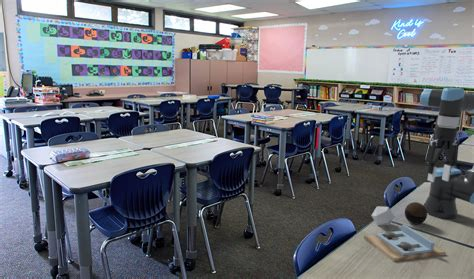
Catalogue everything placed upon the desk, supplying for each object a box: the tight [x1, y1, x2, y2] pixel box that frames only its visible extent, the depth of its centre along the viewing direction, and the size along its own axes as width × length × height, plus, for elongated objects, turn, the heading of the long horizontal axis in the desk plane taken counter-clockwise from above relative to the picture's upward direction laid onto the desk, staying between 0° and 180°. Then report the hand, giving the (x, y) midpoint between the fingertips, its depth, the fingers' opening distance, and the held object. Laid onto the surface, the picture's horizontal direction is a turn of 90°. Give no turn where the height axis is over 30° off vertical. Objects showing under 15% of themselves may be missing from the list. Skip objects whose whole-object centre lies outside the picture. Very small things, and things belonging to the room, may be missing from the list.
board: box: [363, 231, 446, 262], centre depth 144 cm, size 24×18×4 cm
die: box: [371, 206, 396, 227], centre depth 164 cm, size 8×9×10 cm
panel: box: [375, 224, 435, 255], centre depth 144 cm, size 14×16×4 cm
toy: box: [404, 201, 428, 225], centre depth 166 cm, size 9×10×10 cm
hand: (437, 180), depth 150 cm, fingers open, 7 cm apart
